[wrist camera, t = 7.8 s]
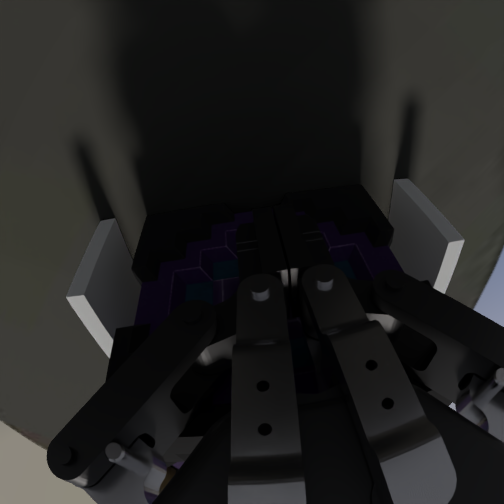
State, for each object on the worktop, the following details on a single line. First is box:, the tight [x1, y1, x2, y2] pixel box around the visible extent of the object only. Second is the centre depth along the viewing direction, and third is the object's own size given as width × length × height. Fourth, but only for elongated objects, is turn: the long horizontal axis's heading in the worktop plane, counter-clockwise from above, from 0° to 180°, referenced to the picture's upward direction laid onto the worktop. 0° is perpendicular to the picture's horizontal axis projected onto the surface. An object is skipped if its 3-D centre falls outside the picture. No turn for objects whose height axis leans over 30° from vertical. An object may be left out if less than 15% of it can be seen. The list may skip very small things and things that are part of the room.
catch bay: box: [66, 179, 464, 358], centre depth 20 cm, size 18×18×6 cm
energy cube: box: [106, 185, 452, 472], centre depth 16 cm, size 12×12×12 cm
